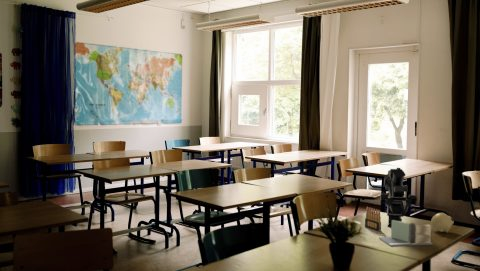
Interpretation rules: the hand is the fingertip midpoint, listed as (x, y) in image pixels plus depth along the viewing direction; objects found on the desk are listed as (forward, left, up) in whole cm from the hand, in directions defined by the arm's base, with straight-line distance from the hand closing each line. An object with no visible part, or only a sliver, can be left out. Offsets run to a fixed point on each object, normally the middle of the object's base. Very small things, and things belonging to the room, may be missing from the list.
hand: (399, 212), depth 250 cm
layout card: (+5, -9, -13) cm, 16 cm away
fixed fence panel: (+13, -9, -12) cm, 20 cm away
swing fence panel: (+3, -9, -12) cm, 15 cm away
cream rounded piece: (+18, +21, -13) cm, 31 cm away
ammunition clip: (-16, +6, -13) cm, 21 cm away
